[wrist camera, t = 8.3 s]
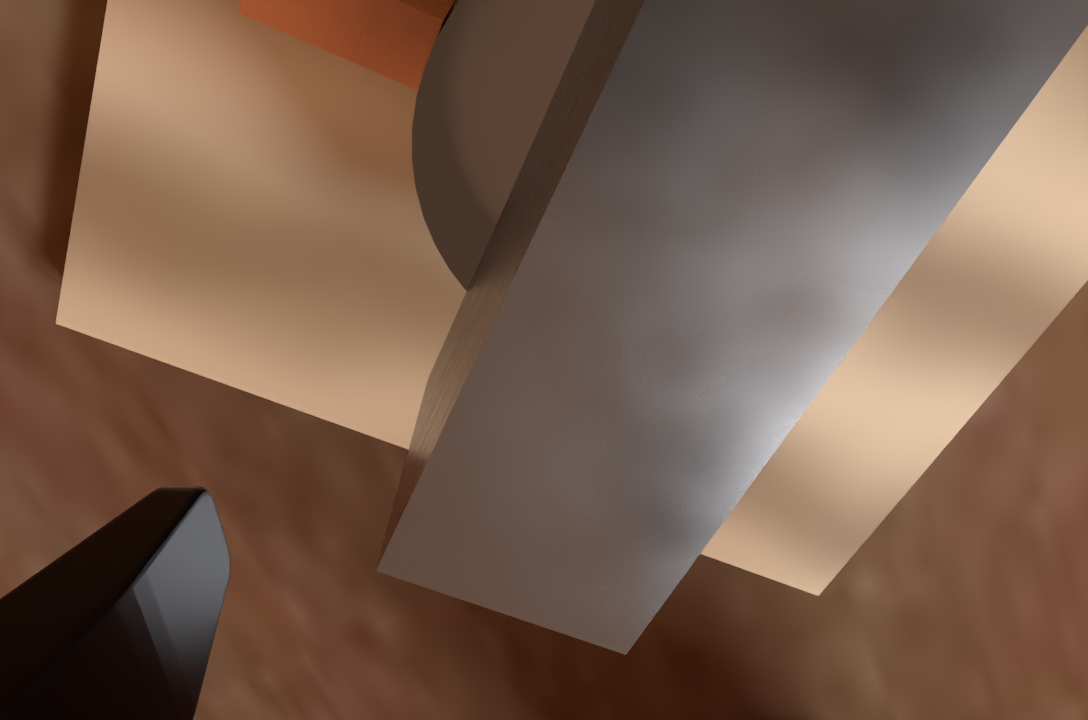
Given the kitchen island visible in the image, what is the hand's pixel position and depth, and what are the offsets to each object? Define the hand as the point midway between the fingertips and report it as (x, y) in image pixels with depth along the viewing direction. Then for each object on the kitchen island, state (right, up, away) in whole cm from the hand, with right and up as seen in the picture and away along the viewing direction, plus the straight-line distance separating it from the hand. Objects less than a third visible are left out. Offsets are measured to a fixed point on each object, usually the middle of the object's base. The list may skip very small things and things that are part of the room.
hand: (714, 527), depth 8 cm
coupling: (-1, +7, +9) cm, 12 cm away
